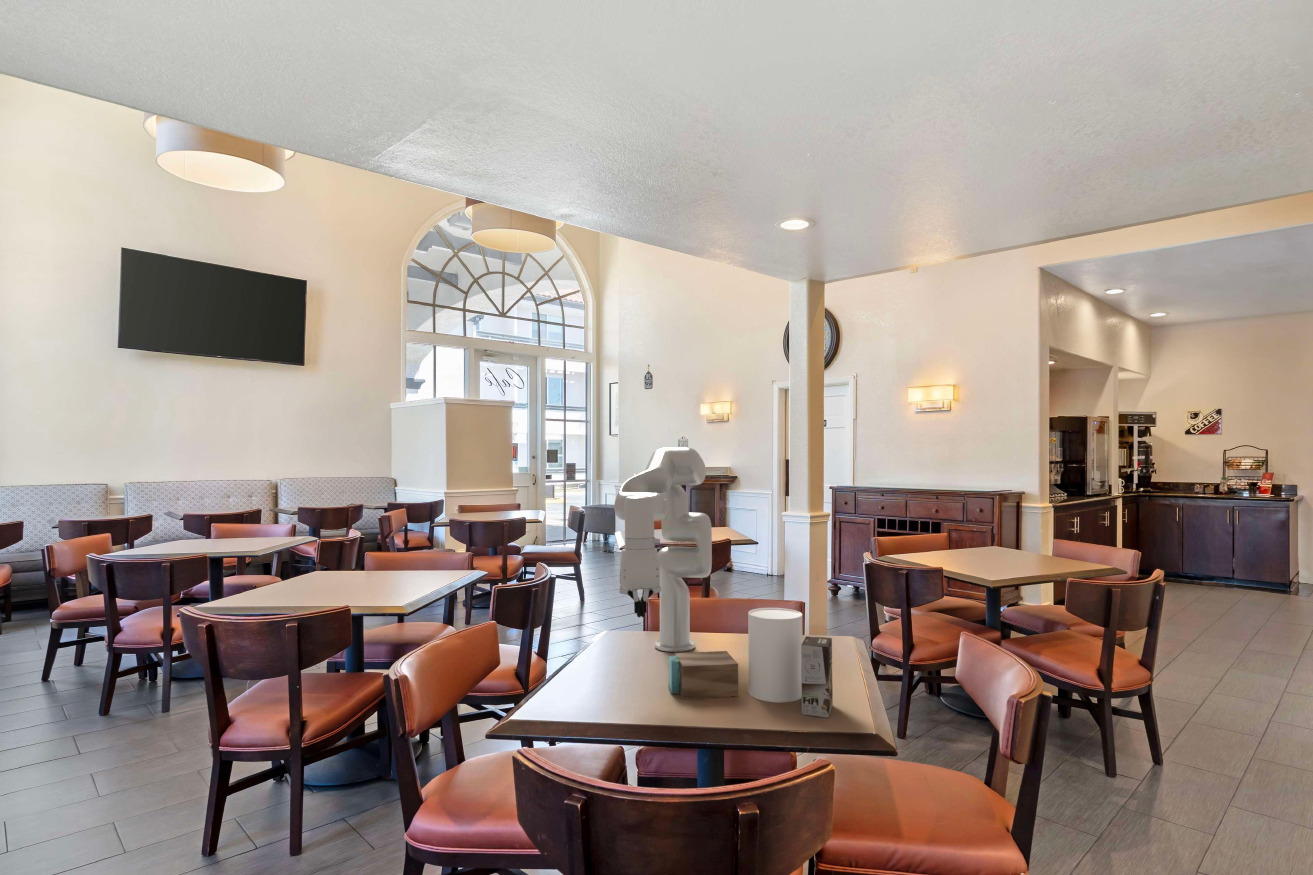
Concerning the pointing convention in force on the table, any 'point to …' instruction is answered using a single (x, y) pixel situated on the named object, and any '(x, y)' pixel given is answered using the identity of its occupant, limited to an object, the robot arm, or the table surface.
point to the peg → (673, 674)
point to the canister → (775, 654)
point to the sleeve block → (707, 674)
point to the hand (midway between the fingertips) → (640, 615)
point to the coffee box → (816, 676)
